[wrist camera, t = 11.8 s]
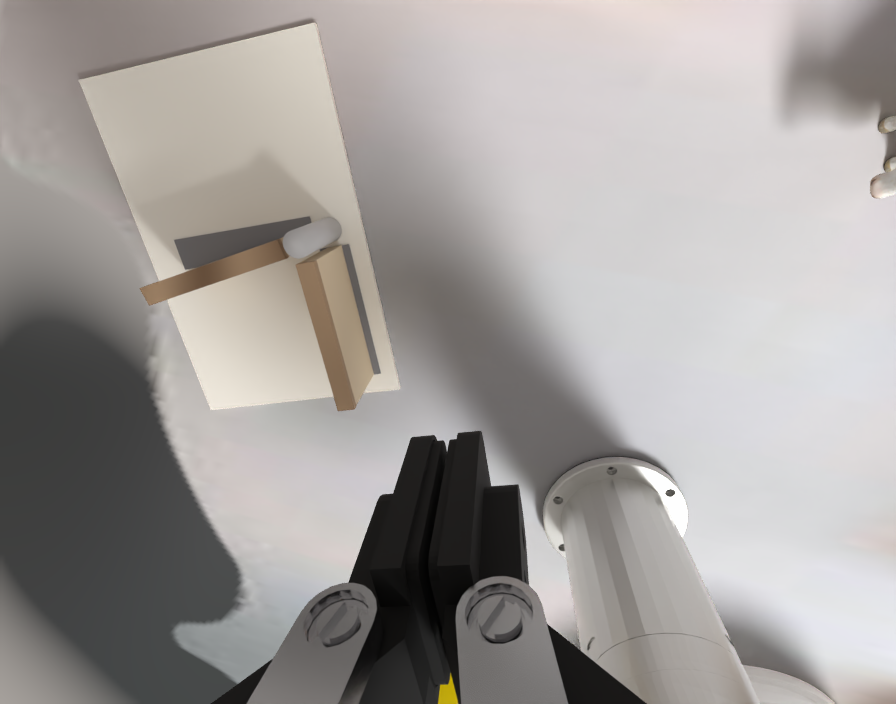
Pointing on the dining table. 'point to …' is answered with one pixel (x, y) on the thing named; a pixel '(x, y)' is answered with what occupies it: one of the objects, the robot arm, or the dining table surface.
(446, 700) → the element tile
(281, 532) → the dining table surface
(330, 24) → the dining table surface
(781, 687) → the plate stack
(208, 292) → the card
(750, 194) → the dining table surface
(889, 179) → the bull figurine
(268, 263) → the fence panel
